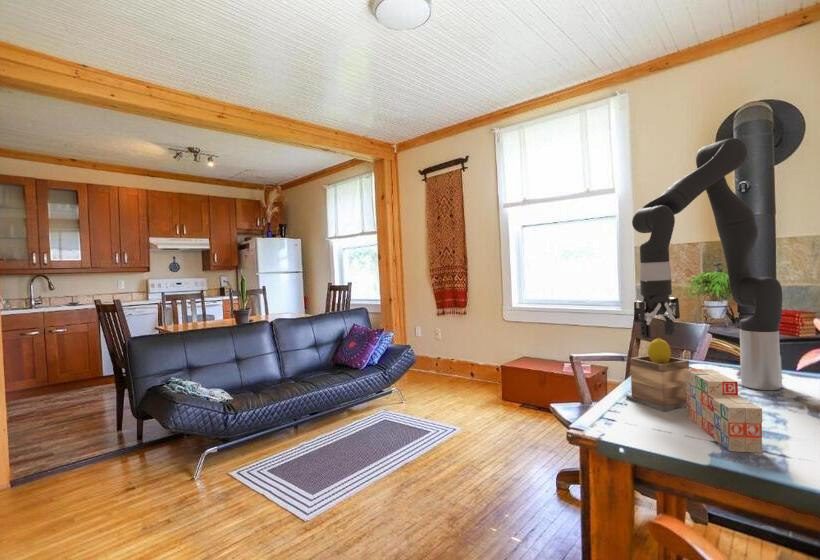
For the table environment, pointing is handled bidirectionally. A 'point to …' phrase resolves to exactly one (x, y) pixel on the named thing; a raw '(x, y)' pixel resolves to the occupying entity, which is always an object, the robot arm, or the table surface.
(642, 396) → the open wooden crate
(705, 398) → the stack of blocks
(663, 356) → the lemon
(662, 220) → the robot arm
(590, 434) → the table surface
